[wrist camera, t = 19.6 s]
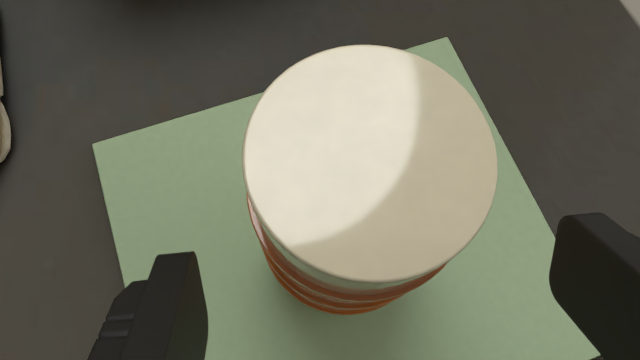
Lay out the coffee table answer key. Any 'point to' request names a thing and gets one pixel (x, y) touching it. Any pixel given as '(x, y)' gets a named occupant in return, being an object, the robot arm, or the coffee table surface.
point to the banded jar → (365, 175)
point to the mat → (282, 308)
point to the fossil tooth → (4, 126)
